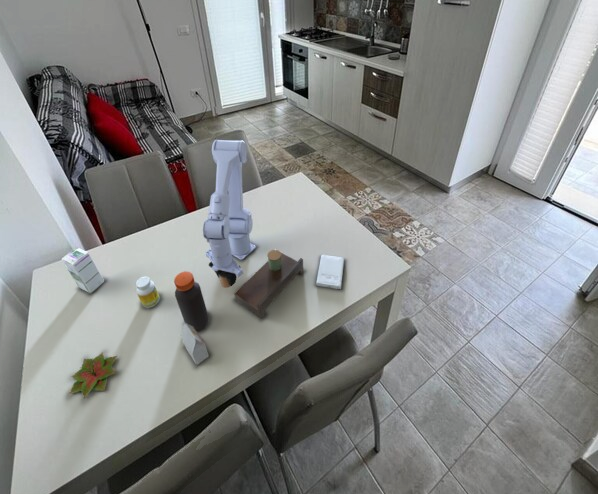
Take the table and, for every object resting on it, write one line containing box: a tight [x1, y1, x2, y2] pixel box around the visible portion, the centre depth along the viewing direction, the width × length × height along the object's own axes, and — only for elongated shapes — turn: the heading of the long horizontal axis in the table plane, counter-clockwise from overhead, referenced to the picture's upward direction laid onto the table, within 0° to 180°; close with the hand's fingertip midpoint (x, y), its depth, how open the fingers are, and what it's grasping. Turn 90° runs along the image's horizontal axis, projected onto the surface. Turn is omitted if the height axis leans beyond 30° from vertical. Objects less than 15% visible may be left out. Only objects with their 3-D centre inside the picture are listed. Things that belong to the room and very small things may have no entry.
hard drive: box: [315, 254, 345, 290], centre depth 114 cm, size 2×8×12 cm
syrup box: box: [61, 246, 105, 294], centre depth 108 cm, size 6×6×14 cm
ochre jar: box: [218, 270, 232, 289], centre depth 106 cm, size 5×5×6 cm
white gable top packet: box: [180, 322, 210, 366], centre depth 90 cm, size 4×7×10 cm, turn 42°
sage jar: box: [267, 249, 282, 271], centre depth 111 cm, size 5×5×6 cm
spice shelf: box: [233, 252, 304, 319], centre depth 109 cm, size 11×22×6 cm, turn 144°
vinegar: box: [173, 271, 210, 332], centre depth 94 cm, size 7×7×20 cm
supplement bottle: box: [135, 276, 160, 309], centre depth 104 cm, size 5×5×10 cm
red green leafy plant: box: [67, 351, 118, 400], centre depth 86 cm, size 12×12×5 cm
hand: (227, 280), depth 107 cm, fingers closed on ochre jar, 4 cm apart
